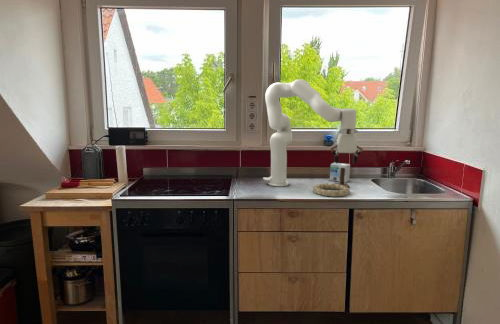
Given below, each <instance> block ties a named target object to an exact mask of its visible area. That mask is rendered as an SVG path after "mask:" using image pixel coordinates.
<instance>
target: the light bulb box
mask: <svg viewBox="0 0 500 324" xmlns="http://www.w3.org/2000/svg"><path fill="white" fill-rule="evenodd" d="M341 167H343V168H345V175H344V183H347V182H349V181H350V172H351V164H350V163H341V162H338V163H335V162H332V163H330V169H329V181H334V182H337V183H340V170H341Z"/></svg>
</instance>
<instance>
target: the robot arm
mask: <svg viewBox="0 0 500 324" xmlns="http://www.w3.org/2000/svg"><path fill="white" fill-rule="evenodd" d="M264 96H265V97H264V98H265V99H264V100H265V105H266V111H267V118H268V125H269V127H270V128H271V130H273V131H276V132H274V133H272V134H271V136H270V138H269V147H270V175H269V176H268V177H262V181H265V182H267V184H268V185H269V186H271V187H286V186H287V187H288V186H289V185H290V181H287V177H288V176H287V175H288V174H287V171H288V169H287V167H288V156H287V155H288V152H287V147H289V146H290V145H291V144H292V142H293V131H292V125H291V120H290V117H289V115H287V114H286V113H283V110H282V104H281V102H280V98H282V99H287V98H295V97H297V98H299V99H301V100H302V102H304V103H305V104H307V105H308V106H309V107H310V108H311V109H312V110H313V111H314V112H315V114H317V115H318V116H319V117H321V118H322V119H323V120H325V121H327V122H329V123H335V122H340V131H339V133H338V134H337V139H336V144H335V145H333V146H330V147H329V149H330V152H331V153H332V154H333V156H334V158H333V159H334V163H339V155H340V154H353V156H352V164H354V165H356V164H357V162H358V157H359V156H360V155H361V153H362V152H363V150H364V149H363V148H362V147H361V146H359V145H357V144H358V143H357V142H358V141H357V135H356V134H357V133H358V132H359V131H358V129H356V122H357V109H356V108H341V107H333V106H332V105H330V104H329V103H328V102H326V101H325V100H324V99H323V97H322V95H321V93H320V92H319V91H317V90H316V89H315V88H313V87H312V86H311V84H310V83H309V82H308V81H307V80H305V79H300V78H299V79H295V80H293V81H292V82H274V83H272V84H270V85H269V86H268V88H267V89H266V91H265V94H264ZM334 149H335V150H334ZM357 149H358V150H357Z"/></svg>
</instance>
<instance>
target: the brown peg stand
mask: <svg viewBox="0 0 500 324" xmlns="http://www.w3.org/2000/svg"><path fill="white" fill-rule="evenodd" d="M344 175H345V168H343V167H341V170H340V182H334V184H340V185H344V186H347V187H348V188H349V189H350V185H349V184H348V183H347V182H344Z"/></svg>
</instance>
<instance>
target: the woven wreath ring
mask: <svg viewBox="0 0 500 324" xmlns="http://www.w3.org/2000/svg"><path fill="white" fill-rule="evenodd" d="M312 191H313V192H314V194H317V195H320V196H324V197H333V198H336V197H344V196H348V195H349V194H350V192H351V190H350V187H349V188H348V187H347V186H344V185H340V184H335V183H330V182H327V183H325V182H324V183H318V184H315V185H314V186H312Z"/></svg>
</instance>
